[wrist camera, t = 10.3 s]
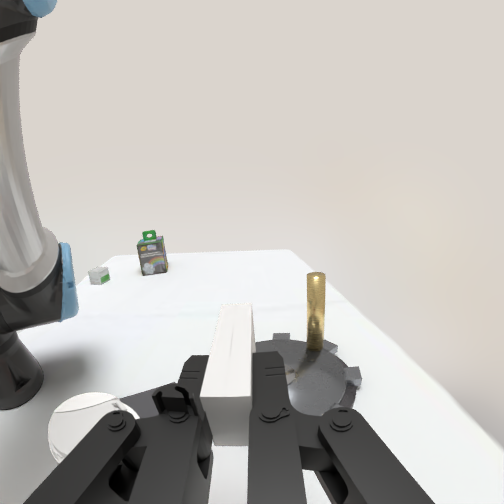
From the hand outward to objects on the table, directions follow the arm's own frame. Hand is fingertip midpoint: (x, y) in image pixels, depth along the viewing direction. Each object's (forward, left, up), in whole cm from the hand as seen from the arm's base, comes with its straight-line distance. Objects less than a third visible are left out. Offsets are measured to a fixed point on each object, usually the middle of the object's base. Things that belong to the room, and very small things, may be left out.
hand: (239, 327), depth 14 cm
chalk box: (-85, +12, -20) cm, 88 cm away
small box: (-87, -9, -20) cm, 89 cm away
